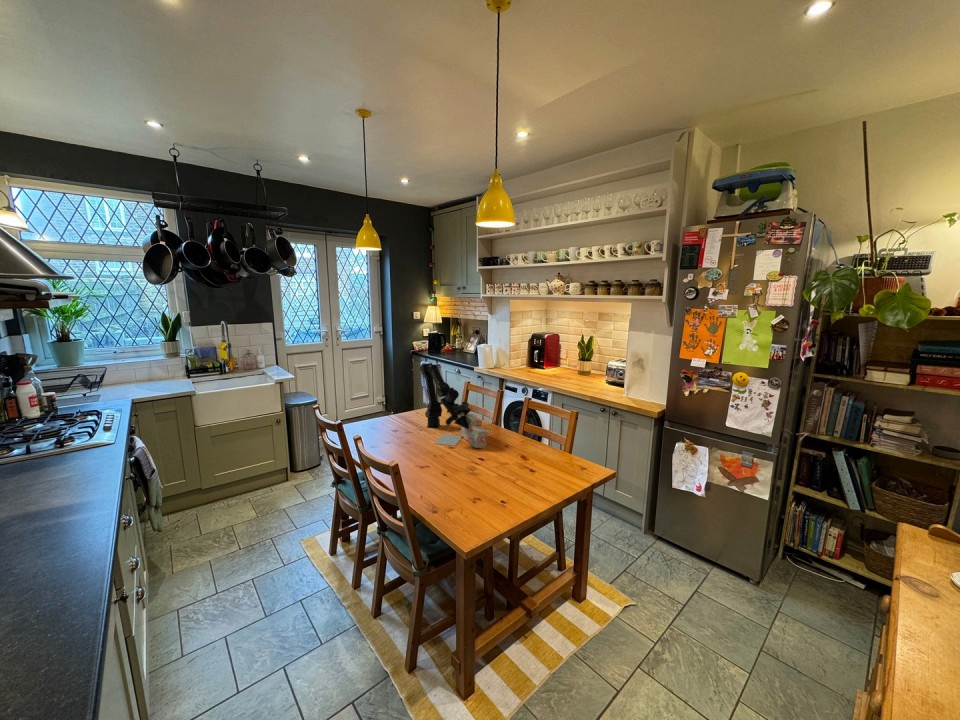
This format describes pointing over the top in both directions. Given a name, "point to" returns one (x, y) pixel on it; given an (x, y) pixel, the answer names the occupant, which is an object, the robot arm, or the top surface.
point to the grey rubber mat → (449, 439)
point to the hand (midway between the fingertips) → (467, 428)
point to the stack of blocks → (474, 432)
